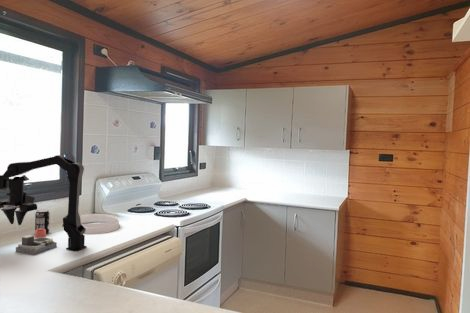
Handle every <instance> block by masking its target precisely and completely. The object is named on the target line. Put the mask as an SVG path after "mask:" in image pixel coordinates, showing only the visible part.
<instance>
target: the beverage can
mask: <svg viewBox="0 0 470 313" xmlns="http://www.w3.org/2000/svg"><path fill="white" fill-rule="evenodd" d="M35 211H36V212H35V217H34V218H35V221H34V224H35V225H34V228H35V229H34V231H35V230H37V229H40V228H43V229H45V230H46V234H48V233H49V232H50V212H49V211H50V210H49V209H37V210H35Z"/></svg>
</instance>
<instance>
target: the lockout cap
mask: <svg viewBox="0 0 470 313" xmlns="http://www.w3.org/2000/svg"><path fill="white" fill-rule="evenodd" d="M34 234H35V235H34V239H35V238H38V237H45V238H47V233H46V230H45V229H43V228H40V229H37V230H35V229H34Z"/></svg>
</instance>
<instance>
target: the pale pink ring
mask: <svg viewBox="0 0 470 313" xmlns="http://www.w3.org/2000/svg"><path fill="white" fill-rule="evenodd" d="M79 216H80V221H81V225H82V226H83V227H84V228H85V229H86V230H85V233H83V235H86V234H87V235H91V234H92V235H95V234H96V235H97V234H105V233H109V232H113V231H116V230H118V229H119V228H120V227H119V225H120V221H119V219H118V217H117V216H116V215H113V214H106V213H89V214H82V215H80V214H79Z"/></svg>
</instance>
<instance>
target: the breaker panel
mask: <svg viewBox="0 0 470 313" xmlns="http://www.w3.org/2000/svg"><path fill="white" fill-rule="evenodd" d="M17 245H18V246H16V247H15V253H21V254H27V255H32V256H33V255H37V254H40V253H43V252H46V251H48V250H52V249H53V248H57V245H58V243H57V242H55V241H54V238H51V237H46V238H45V237H38V238H35V237H34V245H33V246H29V245H23V244H22V243H18V244H17Z"/></svg>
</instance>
